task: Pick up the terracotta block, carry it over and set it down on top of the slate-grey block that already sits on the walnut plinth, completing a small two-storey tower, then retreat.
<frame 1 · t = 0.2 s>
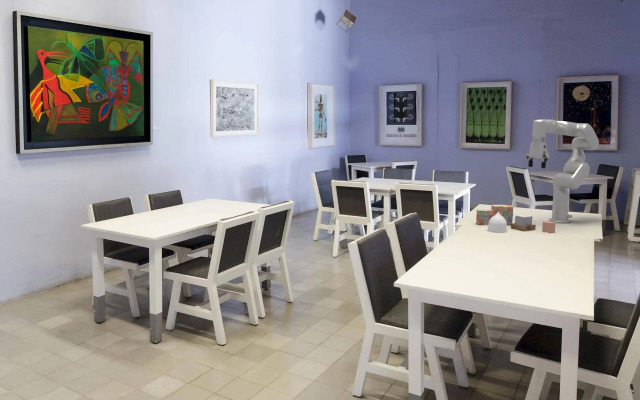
hand: (536, 167, 342), 36 cm above the table, tool pointing down, fingers open, 9 cm apart
terracotta block: (548, 232, 327), on the table
grey block: (523, 224, 335), point 3 cm above the table, touching plinth
teardrop: (497, 231, 330), on the table
stack of blocks: (494, 224, 350), on the table
plinth: (523, 228, 335), on the table
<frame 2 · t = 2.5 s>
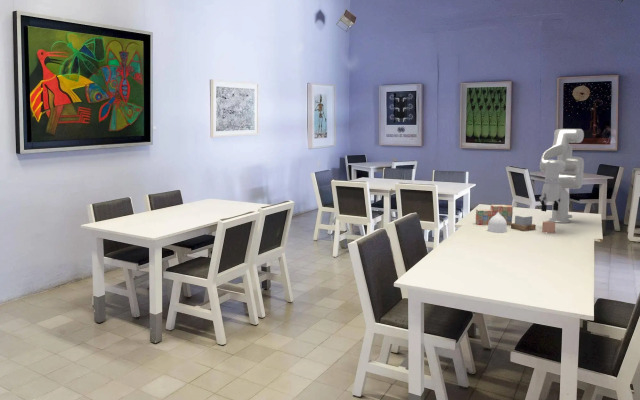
hand: (549, 210, 324), 13 cm above the table, tool pointing down, fingers open, 9 cm apart
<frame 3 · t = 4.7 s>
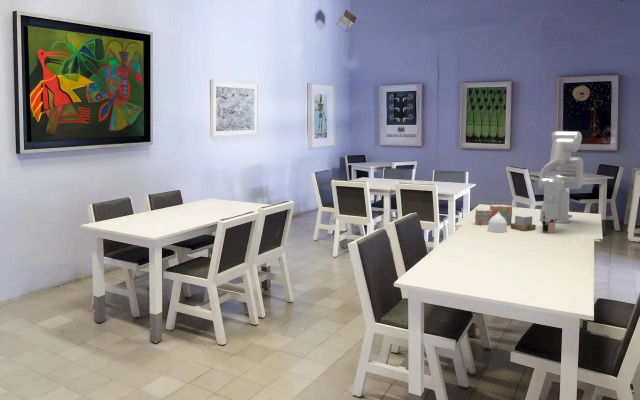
hand: (548, 230, 327), 1 cm above the table, tool pointing down, fingers closed on terracotta block, 5 cm apart
terracotta block: (548, 231, 327), on the table, touching gripper
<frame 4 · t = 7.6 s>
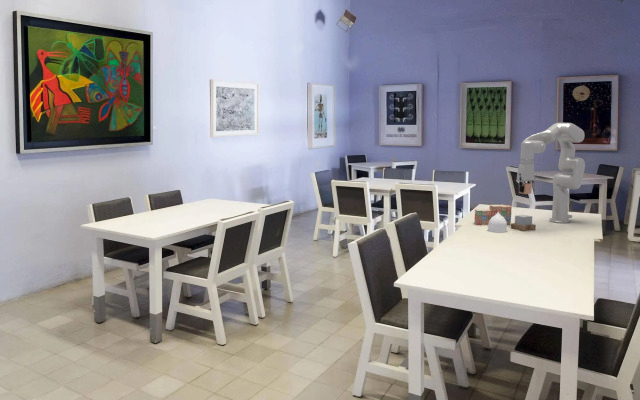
hand: (525, 191, 332), 23 cm above the table, tool pointing down, fingers closed on terracotta block, 5 cm apart
terracotta block: (525, 193, 332), point 22 cm above the table, touching gripper
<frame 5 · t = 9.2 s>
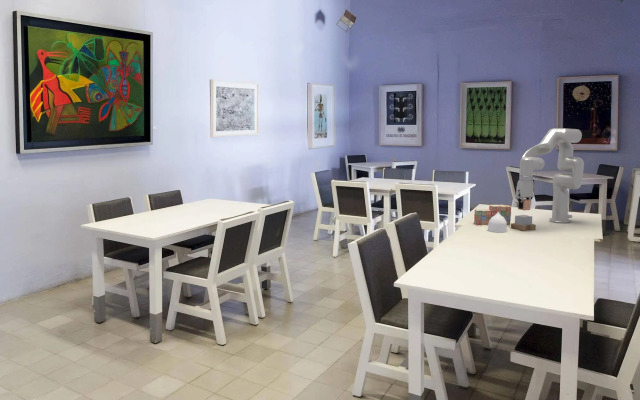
hand: (524, 208, 333), 13 cm above the table, tool pointing down, fingers closed on terracotta block, 5 cm apart
terracotta block: (524, 209, 333), point 12 cm above the table, touching gripper
when the fingers open (10 cm above the table, at t = 10.7 s): terracotta block stays where it is, resting on grey block.
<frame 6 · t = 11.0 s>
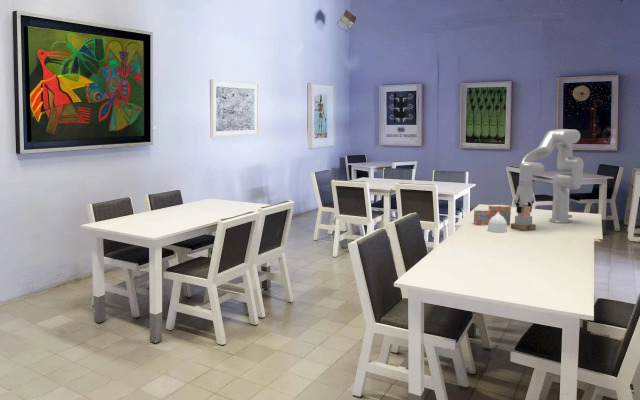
hand: (523, 212, 334), 10 cm above the table, tool pointing down, fingers open, 8 cm apart
terracotta block: (523, 215, 334), point 8 cm above the table, touching grey block
grey block: (523, 224, 335), point 3 cm above the table, touching plinth, terracotta block
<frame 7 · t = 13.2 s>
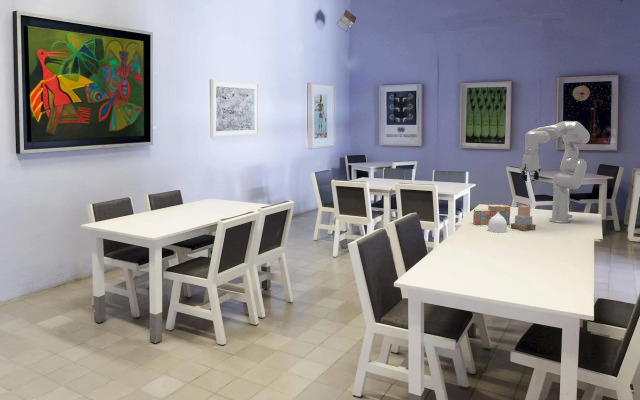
hand: (530, 180, 336), 29 cm above the table, tool pointing down, fingers open, 9 cm apart
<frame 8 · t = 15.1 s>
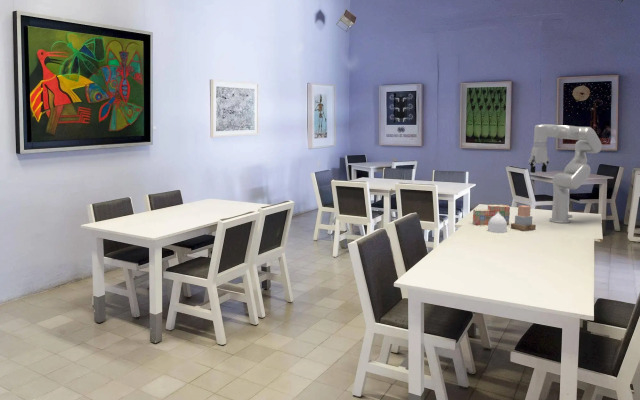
hand: (538, 172, 344), 33 cm above the table, tool pointing down, fingers open, 9 cm apart
at the end: terracotta block inside the target area on the plinth (0.1 cm from its centre), point 8.1 cm above the plinth's base; terracotta block tilted 0°; the gripper is holding nothing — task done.
